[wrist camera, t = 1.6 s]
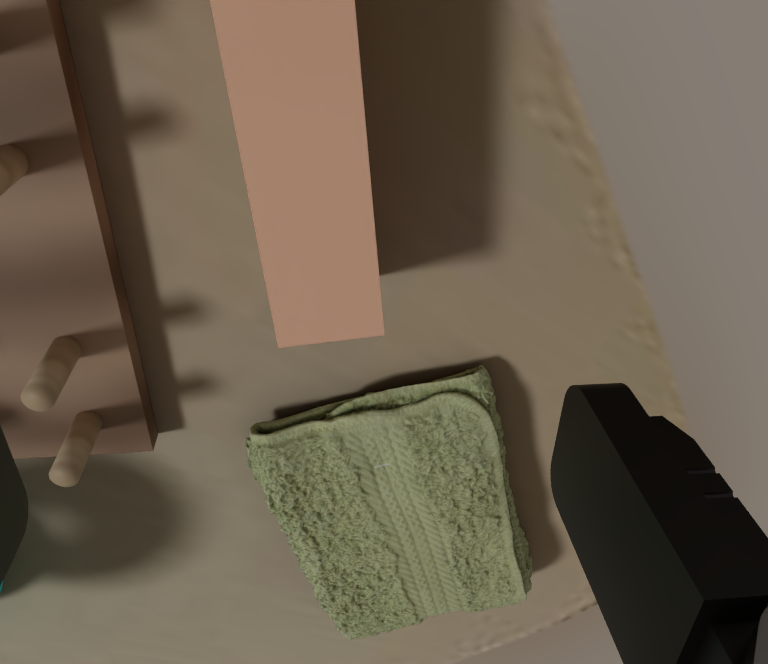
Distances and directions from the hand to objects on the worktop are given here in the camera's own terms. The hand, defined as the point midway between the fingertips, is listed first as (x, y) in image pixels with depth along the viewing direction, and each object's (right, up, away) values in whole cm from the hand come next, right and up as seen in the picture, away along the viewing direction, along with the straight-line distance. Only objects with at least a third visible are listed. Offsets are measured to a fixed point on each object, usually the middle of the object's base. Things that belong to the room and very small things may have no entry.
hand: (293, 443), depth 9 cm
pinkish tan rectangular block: (-2, +10, +15) cm, 18 cm away
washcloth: (+2, -8, +27) cm, 28 cm away
